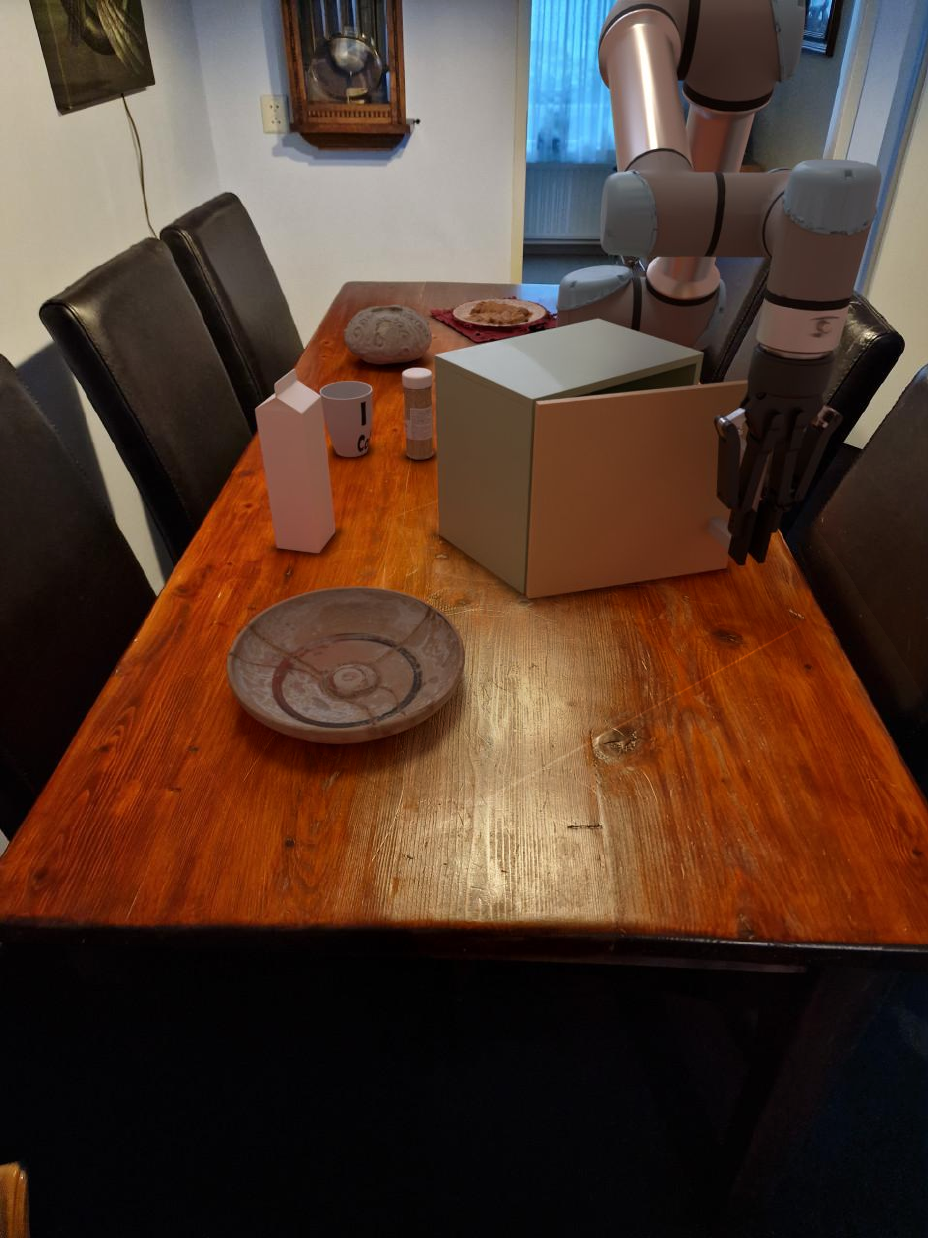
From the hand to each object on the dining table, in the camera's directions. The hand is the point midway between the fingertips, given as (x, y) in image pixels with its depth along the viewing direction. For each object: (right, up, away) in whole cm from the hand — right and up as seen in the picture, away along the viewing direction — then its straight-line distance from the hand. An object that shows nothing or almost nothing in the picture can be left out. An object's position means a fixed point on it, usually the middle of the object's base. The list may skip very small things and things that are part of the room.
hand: (745, 557), depth 91 cm
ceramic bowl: (-43, -14, -8) cm, 46 cm away
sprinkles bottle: (-39, +19, +39) cm, 58 cm away
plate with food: (-24, +63, +100) cm, 121 cm away
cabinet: (-19, +5, +18) cm, 27 cm away
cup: (-50, +20, +40) cm, 67 cm away
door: (-11, -4, +5) cm, 13 cm away
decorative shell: (-47, +47, +78) cm, 102 cm away
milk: (-53, +3, +17) cm, 55 cm away
